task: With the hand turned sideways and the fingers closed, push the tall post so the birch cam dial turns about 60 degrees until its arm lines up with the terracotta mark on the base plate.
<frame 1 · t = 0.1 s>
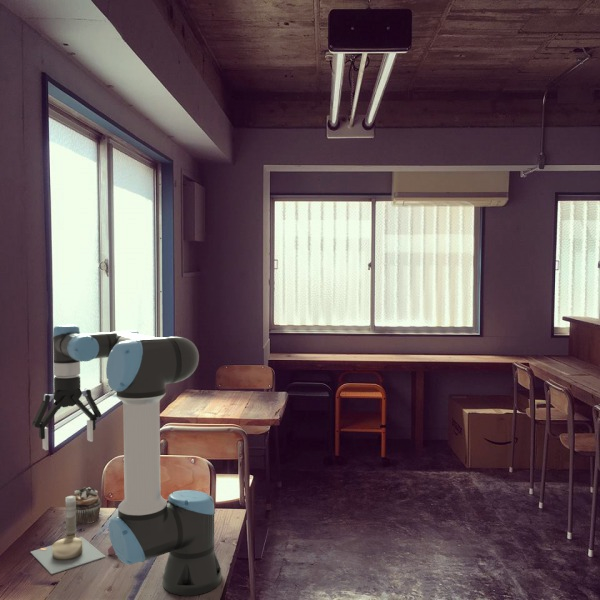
hand: (68, 445, 186), 28 cm above the table, tool pointing down, fingers open, 13 cm apart
cupcake: (86, 519, 199), on the table
video game controller: (124, 549, 179), on the table
cam dial: (68, 526, 176), point 7 cm above the table, hinge at -30.0°
dial base: (67, 554, 174), on the table
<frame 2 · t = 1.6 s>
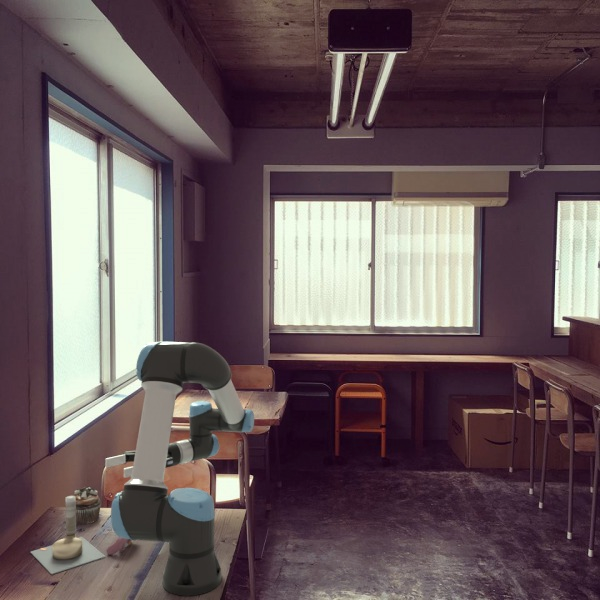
hand: (114, 468, 189), 20 cm above the table, tool horizontal, fingers open, 12 cm apart
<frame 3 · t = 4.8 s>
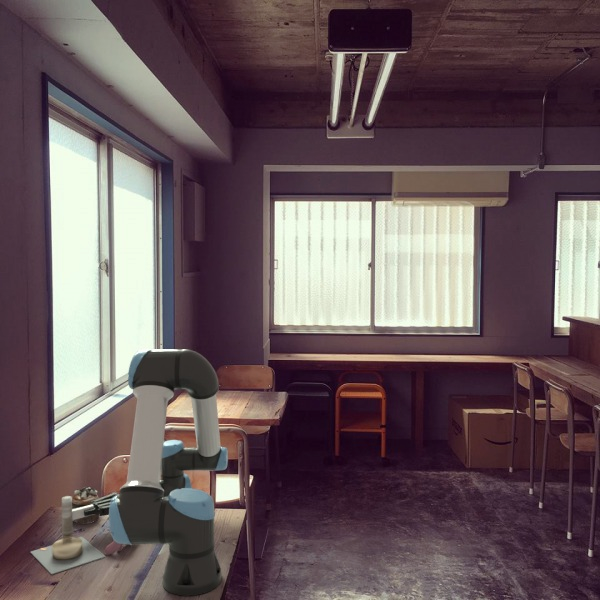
hand: (71, 515, 182), 8 cm above the table, tool horizontal, fingers closed
cam dial: (67, 526, 176), point 7 cm above the table, hinge at -20.9°, touching gripper
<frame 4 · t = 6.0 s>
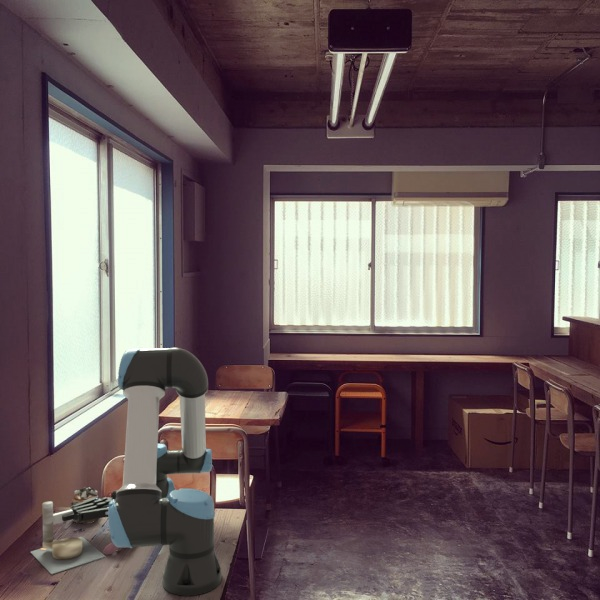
hand: (49, 520, 178), 8 cm above the table, tool horizontal, fingers closed
cam dial: (61, 528, 175), point 7 cm above the table, hinge at 31.6°, touching gripper
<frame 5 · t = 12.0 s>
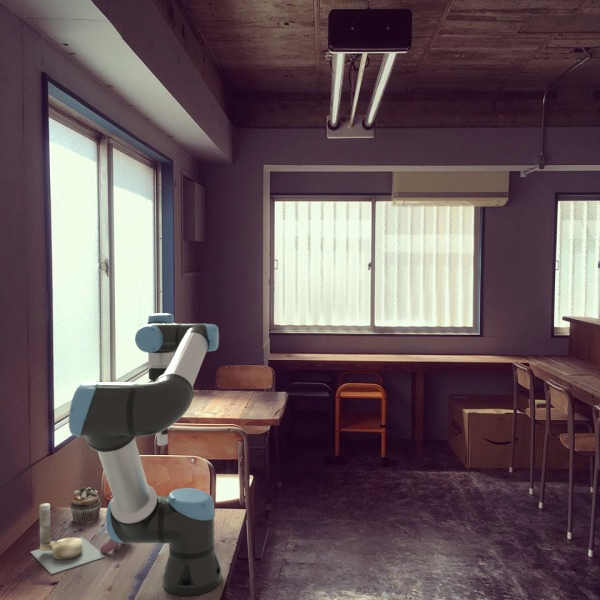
hand: (162, 444, 182), 29 cm above the table, tool pointing down, fingers closed
video game controller: (117, 548, 179), on the table
cam dial: (60, 529, 174), point 7 cm above the table, hinge at 44.0°
everything else where it was.
at the end: cam dial at +44° (first picture: -30°); cupcake moved 0.3 cm from its start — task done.
